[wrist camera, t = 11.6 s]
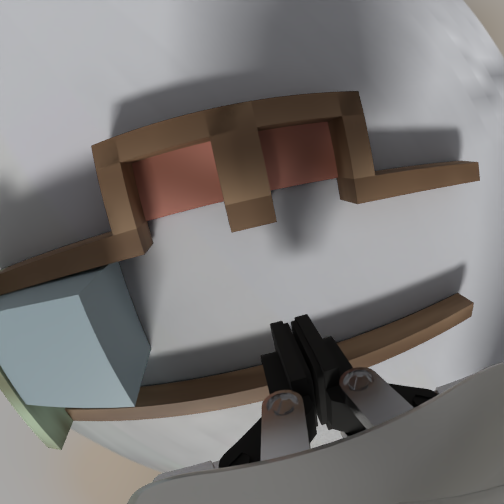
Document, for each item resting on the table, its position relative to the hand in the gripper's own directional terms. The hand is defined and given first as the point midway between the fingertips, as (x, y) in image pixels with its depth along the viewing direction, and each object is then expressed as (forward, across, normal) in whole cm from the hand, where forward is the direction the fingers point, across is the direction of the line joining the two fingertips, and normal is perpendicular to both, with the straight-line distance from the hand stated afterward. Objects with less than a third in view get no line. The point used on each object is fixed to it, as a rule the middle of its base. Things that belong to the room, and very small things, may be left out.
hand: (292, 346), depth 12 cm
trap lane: (+4, +1, -3) cm, 5 cm away
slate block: (+4, +12, -2) cm, 13 cm away
